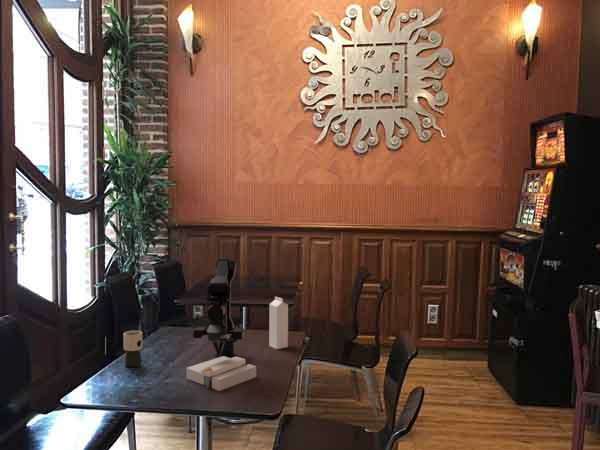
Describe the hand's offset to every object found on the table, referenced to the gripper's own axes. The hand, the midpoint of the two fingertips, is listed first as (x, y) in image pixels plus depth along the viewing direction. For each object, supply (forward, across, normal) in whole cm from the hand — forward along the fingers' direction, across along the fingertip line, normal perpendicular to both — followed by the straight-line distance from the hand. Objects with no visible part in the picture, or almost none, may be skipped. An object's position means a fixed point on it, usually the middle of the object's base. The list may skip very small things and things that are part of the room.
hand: (219, 355), depth 198 cm
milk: (+8, +18, +36) cm, 41 cm away
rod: (+7, +4, -3) cm, 9 cm away
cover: (+3, +3, -7) cm, 8 cm away
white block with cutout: (+7, +2, -4) cm, 8 cm away
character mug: (+7, -36, +5) cm, 37 cm away
